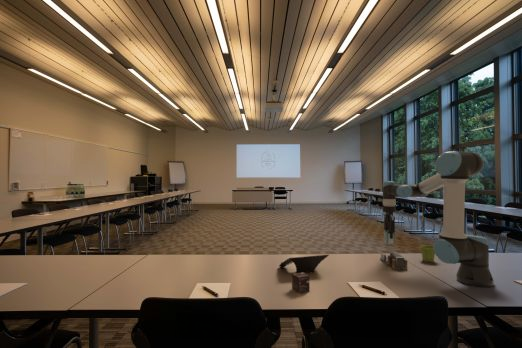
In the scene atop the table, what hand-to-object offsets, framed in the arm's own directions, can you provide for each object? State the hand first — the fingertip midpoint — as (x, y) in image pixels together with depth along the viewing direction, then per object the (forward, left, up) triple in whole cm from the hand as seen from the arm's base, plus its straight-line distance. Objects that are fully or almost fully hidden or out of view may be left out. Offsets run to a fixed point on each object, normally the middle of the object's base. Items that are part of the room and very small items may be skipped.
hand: (389, 242), depth 189 cm
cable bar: (0, +13, -11) cm, 17 cm away
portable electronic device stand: (+56, +25, -12) cm, 63 cm away
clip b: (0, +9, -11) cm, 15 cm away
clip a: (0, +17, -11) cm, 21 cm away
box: (+58, +56, -12) cm, 81 cm away
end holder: (0, 0, -11) cm, 11 cm away
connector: (0, 0, 0) cm, 0 cm away
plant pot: (-24, -1, -12) cm, 27 cm away
